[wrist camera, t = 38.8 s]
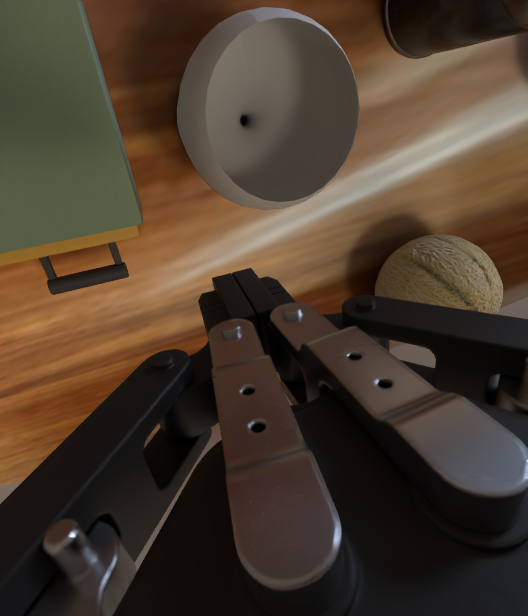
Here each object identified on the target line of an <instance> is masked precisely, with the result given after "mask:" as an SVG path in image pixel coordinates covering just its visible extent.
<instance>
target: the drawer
mask: <svg viewBox="0 0 528 616" xmlns="http://www.w3.org/2000/svg"><path fill="white" fill-rule="evenodd" d="M139 236H140V228H139V225H136V226H131V227H126V228H121V229H116V230H112V231H107V232H102V233H97V234H92V235H88V236H83V237H78V238H73V239H68V240H64V241H59V242H54V243H49V244H44V245H40V246H35V247H30V248H25V249H20V250H16V251H11V252H6V253H1V254H0V266H4V265H9V264H13V263H18V262H22V261H27V260H32V259H36V258H39V259H40V261H41V263H42V265H43V268H44V270H45V272H46V274H47V277H48V281H47V284H48V288H49V290H50V292H51V294H53V295H55V294H59V293H63V292H67V291H72V290H76V289H80V288H84V287H89V286H93V285H97V284H101V283H106V282H110V281H114V280H118V279H122V278H127V277H129V274H128V270H127V267H126V264H125V262H123V263H122V260H121V257H120V254H119V251H118V248H117V245H116V241H120V240H125V239H129V238H134V237H139ZM106 243H108V244H109V247H110V250H111V253H112V256H113V259H114V262H115V264H114V265H109V266H105V267H101V268H96V269H92V270H87V271H83V272H79V273H74V274H70V275H65V276H61V277H57V276H56V273H55V271H54V269H53V267H52V264H51V262H50V260H49V258H48V256H50V255H55V254H60V253H64V252H69V251H74V250H78V249H83V248H88V247H92V246H97V245H102V244H106ZM56 277H57V278H56Z"/></svg>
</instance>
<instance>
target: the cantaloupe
mask: <svg viewBox="0 0 528 616" xmlns="http://www.w3.org/2000/svg"><path fill="white" fill-rule="evenodd" d="M375 296H381V297H387V298H394V299H400V300H406V301H413V302H419V303H426V304H432V305H439V306H445V307H452V308H458V309H464V310H471V311H477V312H484V313H490V314H497V312H498V310H499V308H500V306H501V303H502V298H503V285H502V281H501V279H500V276H499V274H498V272H497V269H496V268H495V266H494V264H493V262H492V261H491V259H490V258H489V257H488V255H487V254H486V253H484V252H483V251H482V250H481V249H480V248H479V247H478V246H476V245H474V244H472V243H471V242H469V241H467V240H464V239H462V238H459V237H455V236H451V235H440V234H435V235H429V236H424V237H420V238H417V239H415V240H412V241H410V242H408V243H406V244H404V245H403V246H401V247H400V248H398V249H397V250H396V251H395V252H394V253H393V254H392V255H391V256H390V257H389V258H388V259H387V260H386V261H385V263H384V264H383V266H382V268H381V270H380V272H379V275H378V278H377V281H376V285H375ZM419 347H422V346H419ZM422 348H425V347H422ZM426 349H427V348H426Z"/></svg>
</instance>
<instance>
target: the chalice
mask: <svg viewBox="0 0 528 616" xmlns="http://www.w3.org/2000/svg"><path fill="white" fill-rule="evenodd" d="M359 109H360V107H359V96H358V86H357V83H356V79H355V76H354V72H353V69H352V66H351V64H350V62H349V60H348V58H347V56H346V54H345V53H344V51H343V49H342V47H341V46H340V45H339V44H338V42H337V41H336V40H335V39H334V38H333V36H332V35H331V34H330V33H329V31H327V30H326V29H325V28H323V27H322V26H321V25H319V24H318V23H317V22H315V21H314V20H313V19H311V18H309V17H307V16H304V15H302V14H299V13H297V12H294V11H292V10H289V9H280V8H269V7H262V8H257V9H252V10H247V11H243V12H239V13H237V14H235V15H233V16H231V17H229V18H228V19H226V20H224V21H222V22H220V23H218V24H217V25H216V26H215V27H214V28H213V29H212V30H211V31H210V32H209V33H208V34H207V35H206V36H205V37H204V38H203V39H202V40H201V41H200V43H199V45H198V46H197V48H196V50H195V51H194V53H193V54H192V56H191V58H190V59H189V61H188V64H187V67H186V70H185V72H184V75H183V78H182V81H181V85H180V93H179V98H178V104H177V125H178V129H179V133H180V137H181V140H182V142H183V144H184V147H185V150H186V152H187V154H188V156H189V158H190V160H191V162H192V163H193V165H194V167H195V169H196V171H197V172H198V173H199V174H200V175H201V177H202V178H203V179H204V180H205V181H206V182H207V184H208V185H209V186H210V187H211V188H212V189H214V190H215V191H216V192H218V193H219V194H220V195H222V196H223V197H224V198H226V199H228V200H230V201H232V202H235V203H237V204H239V205H241V206H245V207H251V208H257V209H262V210H266V209H280V208H286V207H290V206H293V205H296V204H299V203H302V202H304V201H306V200H307V199H309V198H311V197H313V196H314V195H316V194H318V193H319V192H320V191H321V190H322V189H323V188H325V187H326V186H327V185H328V184H329V183H330V182H331V181H332V180H333V179H334V178H335V176H336V175H337V174H338V172H339V171H340V169H341V168H342V167H343V165H344V164H345V162H346V160H347V158H348V156H349V153H350V151H351V149H352V147H353V144H354V140H355V136H356V133H357V129H358V120H359Z"/></svg>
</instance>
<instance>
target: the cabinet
mask: <svg viewBox="0 0 528 616" xmlns="http://www.w3.org/2000/svg"><path fill="white" fill-rule="evenodd" d="M140 224H143V217H142V209H141V202H140V199H139V195H138V192H137V188H136V185H135V181H134V178H133V174H132V171H131V168H130V164H129V161H128V157H127V154H126V150H125V147H124V143H123V140H122V136H121V133H120V130H119V126H118V123H117V119H116V116H115V112H114V109H113V105H112V102H111V99H110V95H109V92H108V88H107V85H106V81H105V78H104V74H103V71H102V68H101V64H100V61H99V57H98V54H97V50H96V47H95V43H94V40H93V36H92V33H91V30H90V26H89V23H88V19H87V16H86V12H85V9H84V6H83V3H82V1H81V0H0V254H1V253H6V252H11V251H16V250H20V249H25V248H30V247H35V246H40V245H44V244H49V243H54V242H59V241H64V240H68V239H73V238H78V237H83V236H88V235H92V234H97V233H102V232H107V231H112V230H116V229H121V228H126V227H131V226H136V225H140Z"/></svg>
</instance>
